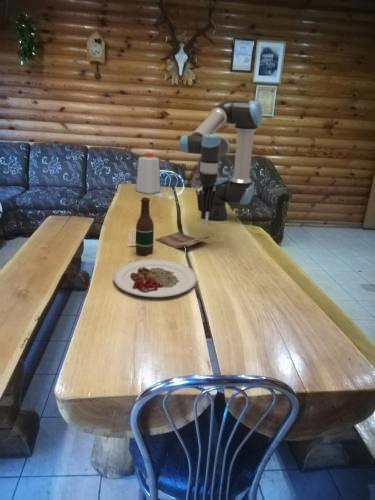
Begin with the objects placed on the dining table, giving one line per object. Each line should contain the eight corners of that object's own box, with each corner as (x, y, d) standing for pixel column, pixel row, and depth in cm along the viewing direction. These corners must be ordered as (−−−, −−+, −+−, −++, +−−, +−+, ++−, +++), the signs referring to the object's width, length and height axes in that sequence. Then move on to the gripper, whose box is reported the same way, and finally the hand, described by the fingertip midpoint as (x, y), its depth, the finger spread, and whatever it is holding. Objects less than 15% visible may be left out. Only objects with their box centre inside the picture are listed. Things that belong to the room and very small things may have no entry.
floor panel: (178, 234, 173) (178, 232, 173) (196, 240, 166) (196, 238, 165) (155, 241, 162) (155, 239, 161) (173, 248, 155) (173, 246, 154)
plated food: (194, 265, 140) (194, 257, 139) (198, 303, 112) (199, 293, 111) (120, 261, 139) (120, 254, 137) (106, 299, 111) (106, 290, 110)
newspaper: (128, 232, 174) (128, 228, 174) (142, 232, 175) (142, 228, 175) (126, 249, 153) (126, 245, 152) (142, 249, 154) (142, 245, 153)
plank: (197, 240, 166) (196, 238, 165) (209, 238, 160) (209, 235, 160) (174, 248, 154) (173, 246, 154) (187, 246, 149) (186, 243, 148)
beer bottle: (156, 251, 151) (158, 197, 142) (148, 257, 144) (150, 201, 135) (140, 248, 153) (140, 195, 144) (132, 254, 146) (132, 198, 137)
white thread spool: (149, 195, 249) (150, 155, 239) (133, 191, 257) (133, 152, 246) (162, 191, 261) (163, 154, 251) (146, 188, 269) (147, 151, 258)
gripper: (210, 170, 153) (206, 220, 162) (192, 172, 144) (188, 226, 153) (224, 172, 149) (219, 224, 157) (206, 175, 139) (201, 230, 148)
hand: (204, 225), depth 155 cm, fingers closed
